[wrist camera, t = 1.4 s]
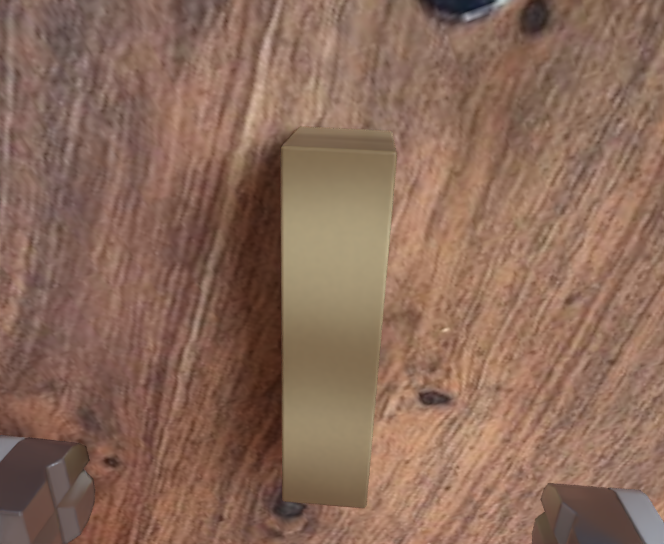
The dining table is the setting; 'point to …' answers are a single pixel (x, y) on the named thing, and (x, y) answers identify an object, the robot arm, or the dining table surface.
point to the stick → (332, 307)
